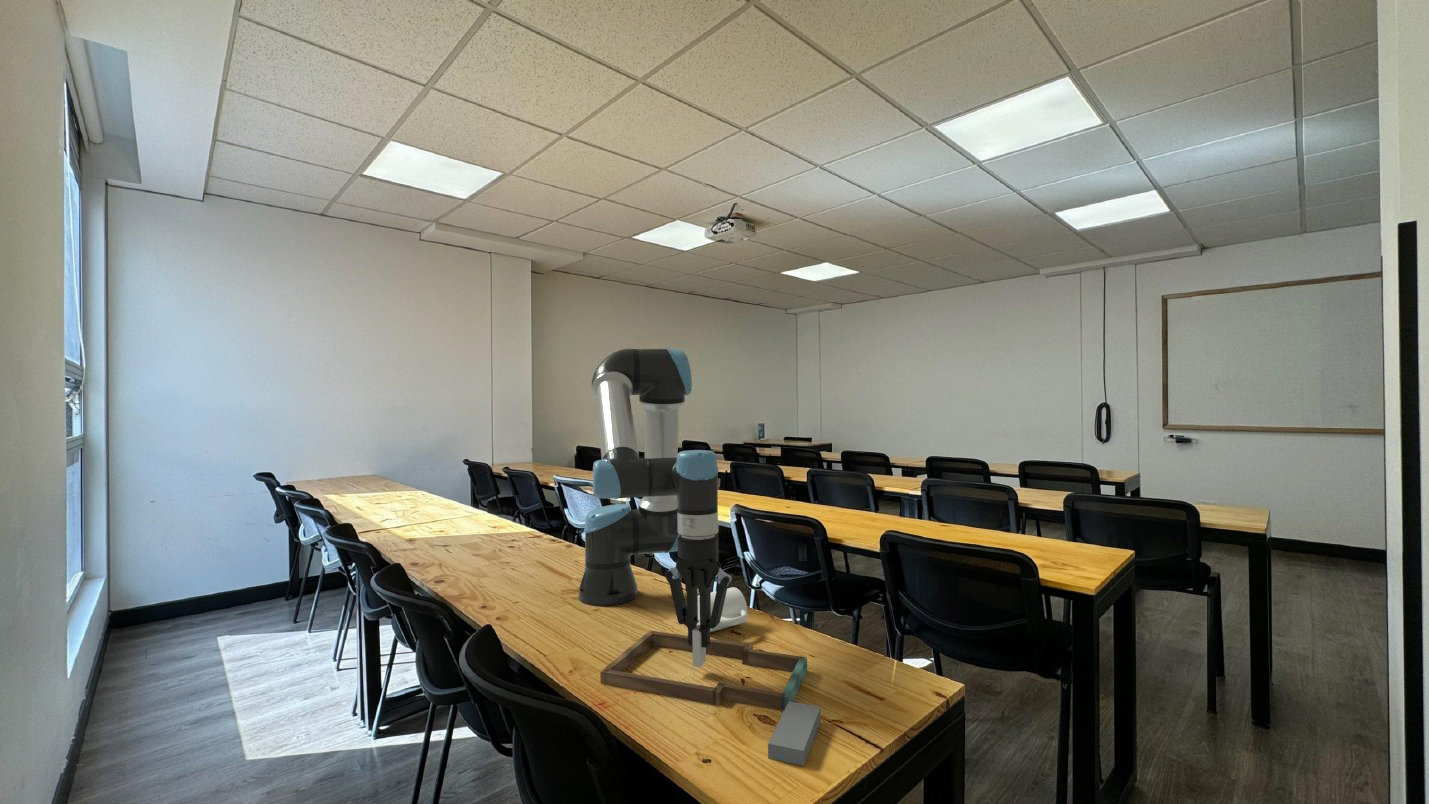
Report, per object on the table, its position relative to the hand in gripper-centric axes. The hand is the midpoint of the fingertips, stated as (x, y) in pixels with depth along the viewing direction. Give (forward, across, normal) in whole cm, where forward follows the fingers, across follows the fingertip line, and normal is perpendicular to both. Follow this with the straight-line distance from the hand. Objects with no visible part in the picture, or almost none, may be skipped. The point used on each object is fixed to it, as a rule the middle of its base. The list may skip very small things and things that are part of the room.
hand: (699, 663), depth 105 cm
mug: (+2, -3, +21) cm, 21 cm away
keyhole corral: (+2, -4, 0) cm, 4 cm away
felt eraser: (+3, +21, -15) cm, 26 cm away
